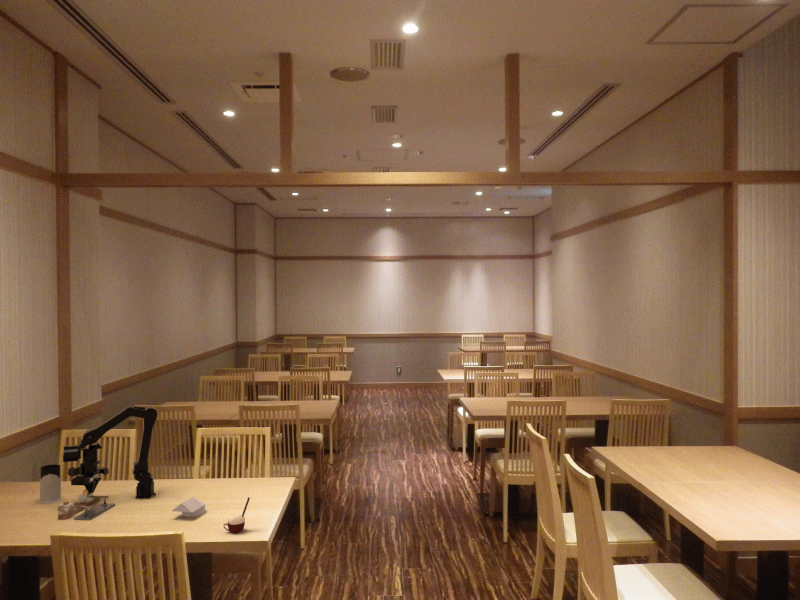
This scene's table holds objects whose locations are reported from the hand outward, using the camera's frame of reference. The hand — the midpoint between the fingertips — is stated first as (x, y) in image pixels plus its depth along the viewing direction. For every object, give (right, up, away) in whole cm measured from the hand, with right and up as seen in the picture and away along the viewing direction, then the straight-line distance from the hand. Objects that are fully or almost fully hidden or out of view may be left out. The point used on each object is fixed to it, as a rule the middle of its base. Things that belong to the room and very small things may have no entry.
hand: (90, 496), depth 262 cm
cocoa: (+72, -3, -33) cm, 79 cm away
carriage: (+4, -2, -4) cm, 6 cm away
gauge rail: (+3, -3, -8) cm, 9 cm away
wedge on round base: (+48, -3, -15) cm, 50 cm away
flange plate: (+8, -3, -11) cm, 14 cm away
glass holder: (-21, -4, +6) cm, 22 cm away
